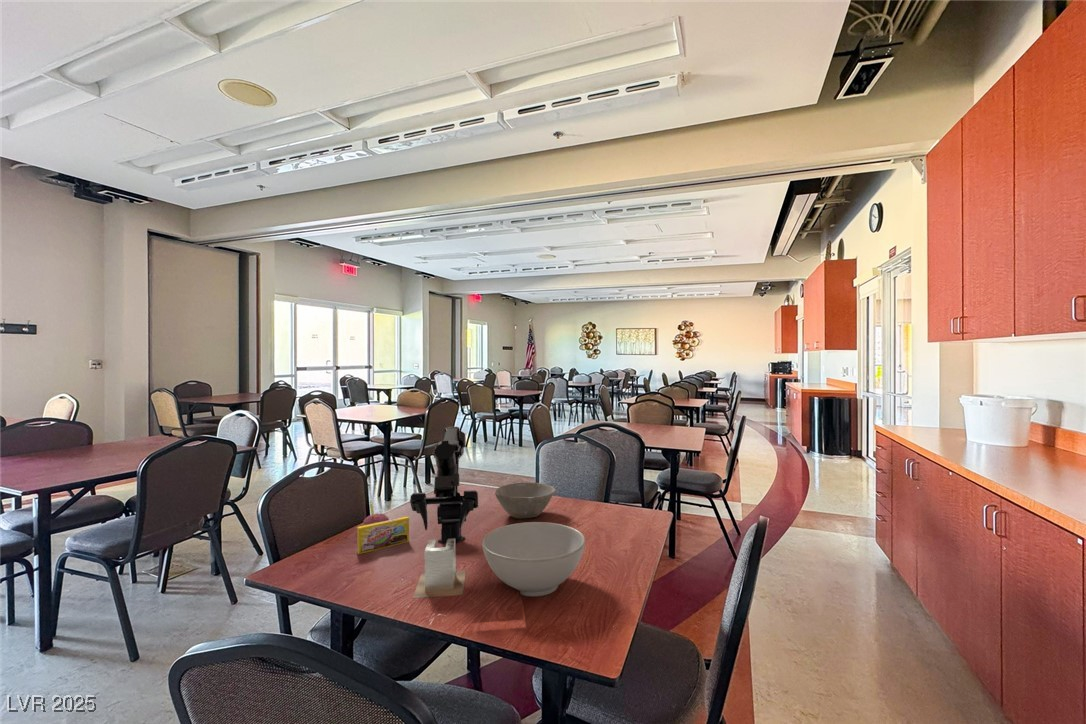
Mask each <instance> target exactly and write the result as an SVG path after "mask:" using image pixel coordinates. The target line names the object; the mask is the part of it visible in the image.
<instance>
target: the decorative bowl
mask: <svg viewBox="0 0 1086 724" xmlns="http://www.w3.org/2000/svg"><path fill="white" fill-rule="evenodd" d="M481 547H482V550H483V551H482V552H483V555H484V556H485V558H486V561H487V563H488V566H490V568H491V570H492V572H493V573H494V574H495V576H497V578H498V579H499V580H501V581H502V582H503V583H504V584H506V585H507V586H508V587H510V588H513V589H515V590H517V591H519V594H520V595H521V596H525V597H542V596H546V595H550V594H552V593H553V592H555V591H556V590H557V589H558V588H559V585H560V584H562V583H564V582H565V581H566V580H568V578H569V577H571V576H572V575H573V572H574V571H575V569H576V568H577V567H578V566H579V563H580V561H581V559H582V557H583V553H584V550H585V547H586V537H585V536H584V534H583V533H582V532H581V531H579V530H578V529H576V528H574V527H571V526H570V525H569V526H568V525H564V524H561V523H555V522H547V521H546V522H544V521H543V522H542V521H532V522H531V521H529V522H519V523H513V524H508V525H503V526H501V527H498V528H495V529H493V530H491V531H489V532H488V533H487V534H485V536H483V539H482V541H481Z"/></svg>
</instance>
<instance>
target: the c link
mask: <svg viewBox="0 0 1086 724" xmlns="http://www.w3.org/2000/svg"><path fill="white" fill-rule="evenodd" d="M425 546H426V547H425V549H424V552H423V553H424V573H425V592H428V591H443V590H453V589H454V584H455V578H456V571H457V570H456V569H457V566H456V564H457V562H456V561H457V559H456V544H455V538H454V539H448V540H447V543H445V546H444V547H443V546H442V547H437V539H428V541H427V544H426V545H425Z"/></svg>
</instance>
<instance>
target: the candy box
mask: <svg viewBox="0 0 1086 724" xmlns="http://www.w3.org/2000/svg"><path fill="white" fill-rule="evenodd" d="M356 529H357V531H356V532H357V533H356V534H357V535H356V537H357V540H356V542H357V543H356V553H357V554H358V555H363V554H366V553H369V552H375V551H377V550H383V549H386V548H390V547H394V546H398V545H403V544H405V543H410V517H408V516H407V515H406V516H403V517H399V518H394V519H389V520H388V521H383V522H378V523H373V524H369V525H364V526H363V525H361V526H357V527H356Z"/></svg>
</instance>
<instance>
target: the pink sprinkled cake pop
mask: <svg viewBox="0 0 1086 724" xmlns="http://www.w3.org/2000/svg"><path fill="white" fill-rule="evenodd" d="M369 506H370V507H369V508H370V512H371V515H368V516H366V517H365V518H364V520H363V521H362V526H364V525H369V524H373V523H378V522H383V521H388V520H390V519H389V516H387V515H386V514H384V513H382V512H380V513H374V508H373V507H374V506H373V503H372V502H371V500H370V501H369Z"/></svg>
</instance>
